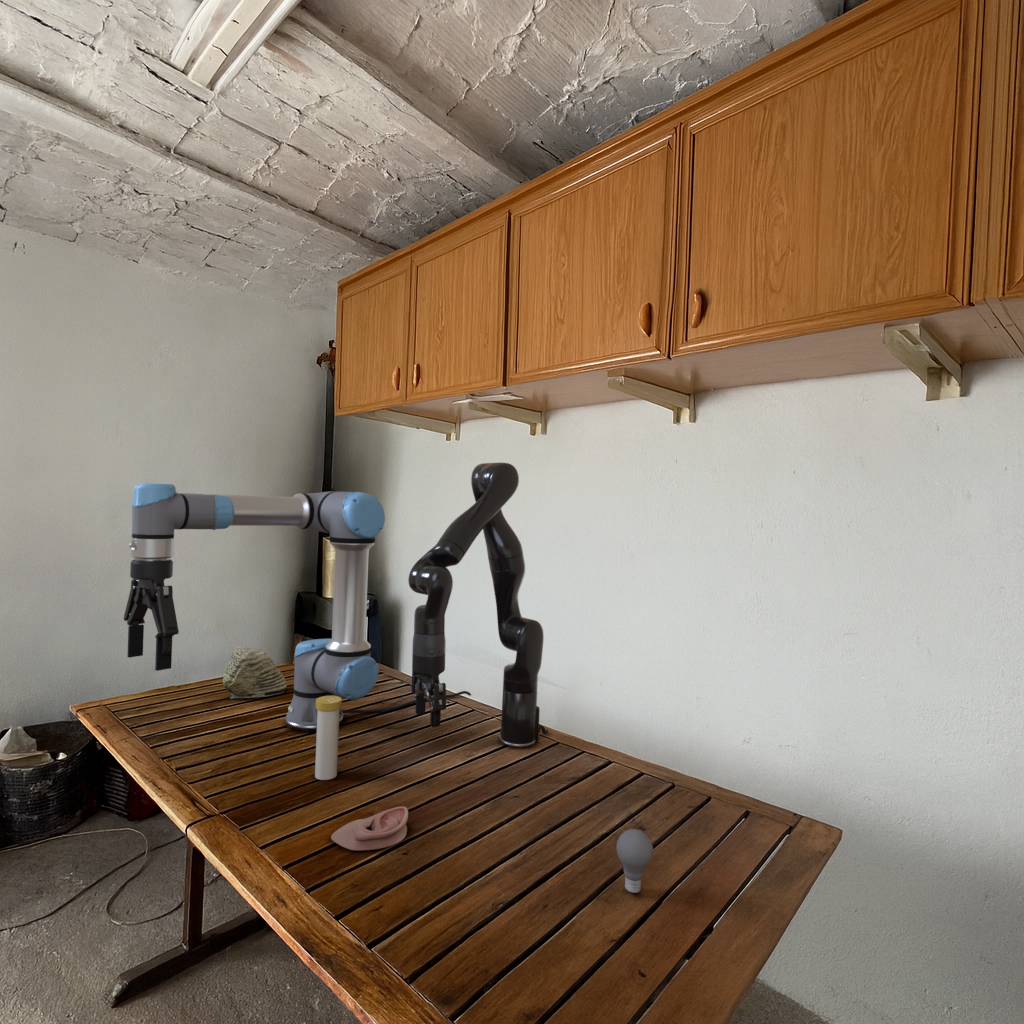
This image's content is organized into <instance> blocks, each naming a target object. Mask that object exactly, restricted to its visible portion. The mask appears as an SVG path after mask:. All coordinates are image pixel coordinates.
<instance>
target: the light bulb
mask: <svg viewBox="0 0 1024 1024" xmlns="http://www.w3.org/2000/svg"><path fill="white" fill-rule="evenodd" d="M615 849H616V854H617V857H618V859H619V861H620V863H621V865H622V867H623V873H624V874H623V875H624V876H625V878H624V888H625V890H627V891H628V892H630V893H634V894H635V893H639V892H640V891H641V889H642V887H641V886H642V879H643V877H644V875H645V871H646V868H647V867H648V866H649V864H650V863H651V861H652V859H653V855H654V847H653V843H652V841H651V838H649V836H648V835H647V834H646V833H645V832H643V831H642V830H641V829H636V828H629V829H627V830H625V831H623V832H622V833H621V834H620V835H619V837H618V839H617V841H616V847H615Z"/></svg>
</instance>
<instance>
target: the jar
mask: <svg viewBox="0 0 1024 1024" xmlns="http://www.w3.org/2000/svg"><path fill="white" fill-rule="evenodd" d="M339 711H340V709H337V710H333V711H321V710H317V732H315V758H314V759H315V762H314V778H315V779H316V780H320V781H328V780H332V779H335V778H336V777H337V775H338V763H339V762H338V761H339V760H338V759H339V737H340V735H339V734H340V732H339V731H340V725H339Z"/></svg>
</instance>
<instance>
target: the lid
mask: <svg viewBox="0 0 1024 1024" xmlns="http://www.w3.org/2000/svg"><path fill="white" fill-rule="evenodd" d="M342 702H343V698H341V697H338V696H322V697H319V698H317V699H316V709H317V710H321V711H333V710H337V709H340V708H341V709H342V705H343V704H342Z"/></svg>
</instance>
